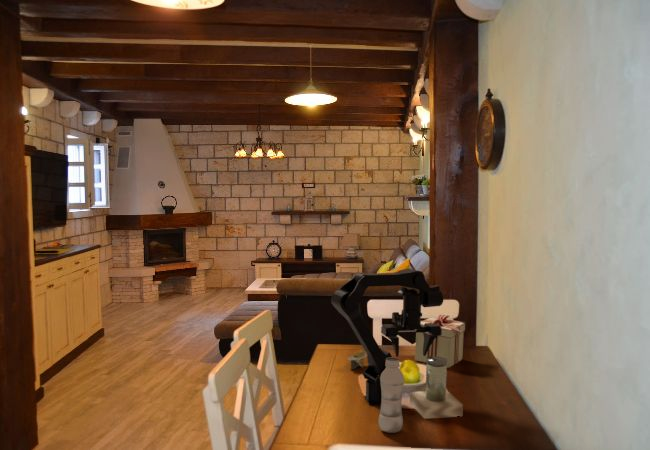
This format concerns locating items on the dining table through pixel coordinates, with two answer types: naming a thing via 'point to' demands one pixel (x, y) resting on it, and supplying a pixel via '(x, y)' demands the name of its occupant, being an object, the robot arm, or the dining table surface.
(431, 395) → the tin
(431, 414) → the base block
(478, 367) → the dining table surface
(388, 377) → the plastic bottle
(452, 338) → the gift box
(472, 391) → the dining table surface
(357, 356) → the open flap box
